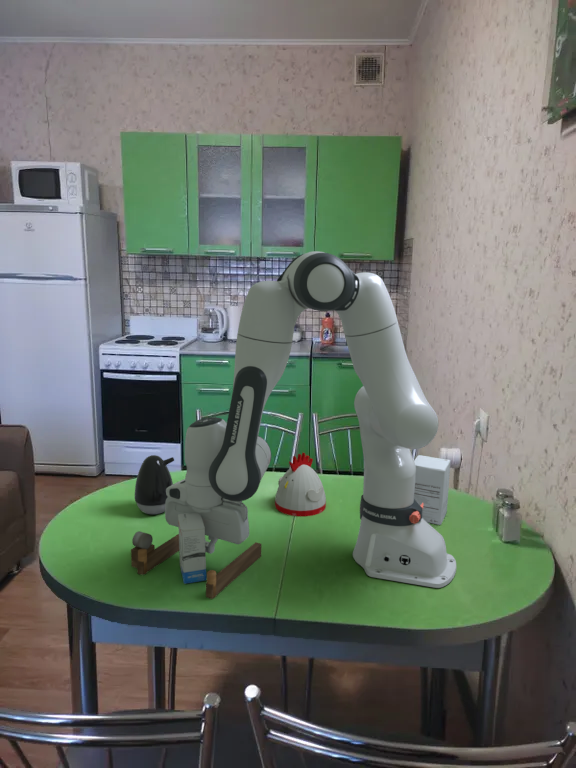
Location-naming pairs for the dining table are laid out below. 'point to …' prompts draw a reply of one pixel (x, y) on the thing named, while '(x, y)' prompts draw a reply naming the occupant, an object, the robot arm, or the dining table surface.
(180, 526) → the ink box
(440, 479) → the supplement box
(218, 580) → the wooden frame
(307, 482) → the kitchen timer
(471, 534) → the dining table surface
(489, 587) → the dining table surface
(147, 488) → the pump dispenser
